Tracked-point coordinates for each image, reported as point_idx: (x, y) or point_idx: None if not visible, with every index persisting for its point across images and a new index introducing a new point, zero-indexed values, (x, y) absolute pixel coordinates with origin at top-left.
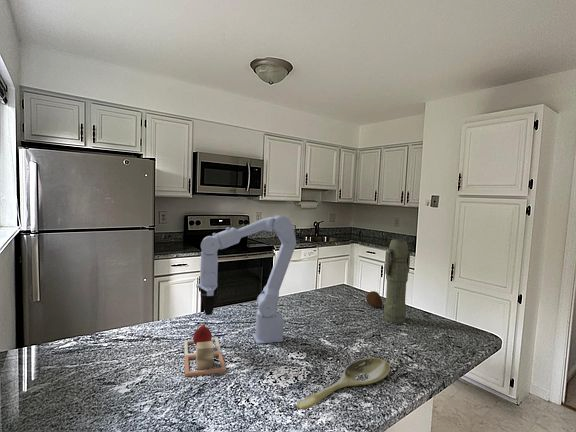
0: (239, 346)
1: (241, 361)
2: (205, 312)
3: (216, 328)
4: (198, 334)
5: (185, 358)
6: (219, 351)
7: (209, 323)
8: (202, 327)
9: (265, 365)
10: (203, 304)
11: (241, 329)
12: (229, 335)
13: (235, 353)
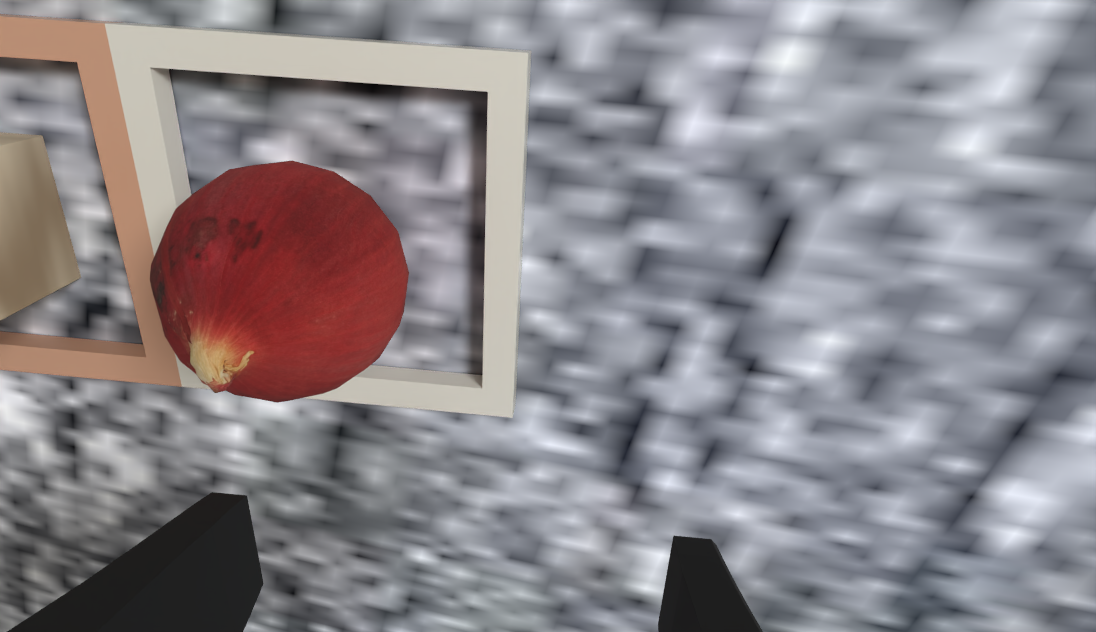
0: (337, 531)
1: (69, 481)
2: (167, 529)
3: (826, 450)
4: (163, 245)
5: (31, 27)
6: (191, 374)
7: (1022, 412)
8: (179, 336)
9: (18, 592)
10: (682, 588)
11: None
12: (592, 516)
13: (208, 476)
